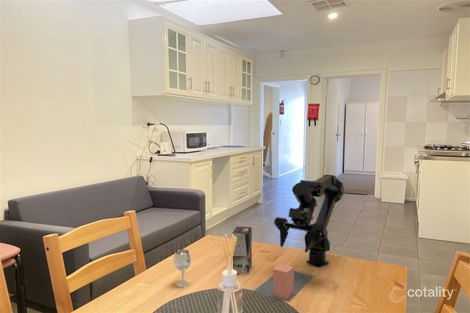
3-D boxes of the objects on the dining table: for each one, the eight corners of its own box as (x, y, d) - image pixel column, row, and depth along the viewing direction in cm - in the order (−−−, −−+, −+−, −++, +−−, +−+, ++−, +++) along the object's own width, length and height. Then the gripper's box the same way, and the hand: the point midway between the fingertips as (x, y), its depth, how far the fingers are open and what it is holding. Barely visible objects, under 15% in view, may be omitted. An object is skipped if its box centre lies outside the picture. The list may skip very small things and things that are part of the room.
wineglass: (193, 282, 122) (193, 249, 121) (186, 289, 116) (185, 255, 115) (179, 279, 124) (178, 248, 123) (171, 287, 118) (170, 253, 117)
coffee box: (248, 276, 127) (248, 233, 125) (231, 274, 128) (231, 232, 126) (252, 266, 135) (252, 226, 134) (236, 264, 137) (236, 225, 135)
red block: (279, 289, 115) (279, 263, 114) (293, 293, 112) (293, 267, 112) (272, 295, 111) (273, 268, 110) (286, 299, 108) (287, 272, 108)
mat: (282, 268, 132) (282, 267, 132) (314, 277, 125) (314, 275, 125) (253, 292, 114) (253, 291, 114) (288, 303, 107) (288, 301, 107)
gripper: (275, 195, 125) (261, 233, 117) (325, 201, 115) (312, 243, 107) (285, 211, 132) (272, 247, 125) (332, 218, 122) (321, 258, 114)
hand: (293, 249), depth 117 cm, fingers open, 9 cm apart
